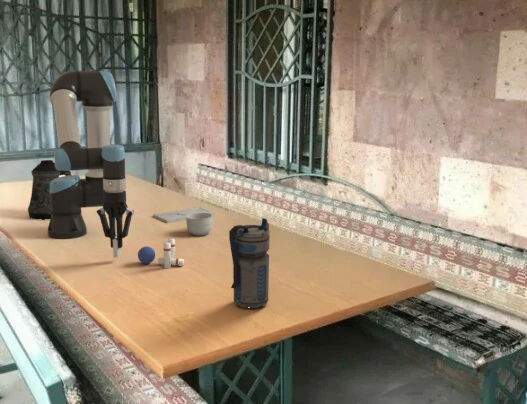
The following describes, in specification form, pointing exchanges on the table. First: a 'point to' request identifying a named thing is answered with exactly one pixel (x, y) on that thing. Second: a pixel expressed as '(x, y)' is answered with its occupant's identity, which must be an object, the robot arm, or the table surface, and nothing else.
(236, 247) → the beverage bottle
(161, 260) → the front pin
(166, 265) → the pin
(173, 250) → the pin
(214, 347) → the table surface
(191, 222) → the teacup
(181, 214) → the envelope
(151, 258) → the ball
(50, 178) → the beer stein
